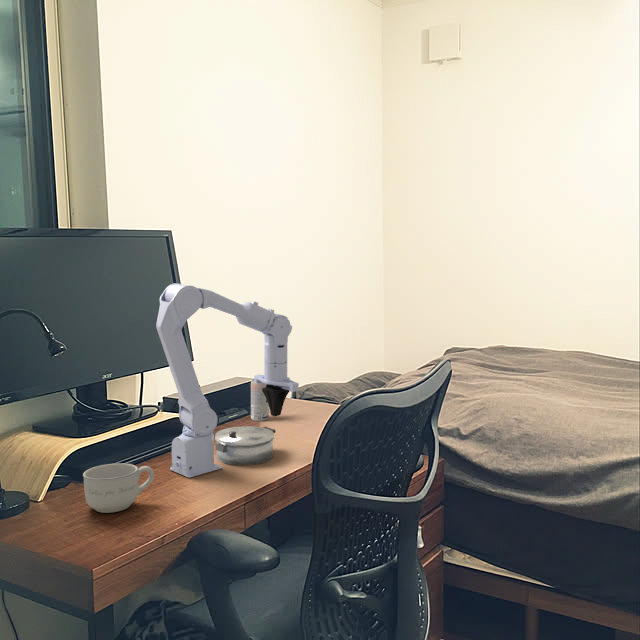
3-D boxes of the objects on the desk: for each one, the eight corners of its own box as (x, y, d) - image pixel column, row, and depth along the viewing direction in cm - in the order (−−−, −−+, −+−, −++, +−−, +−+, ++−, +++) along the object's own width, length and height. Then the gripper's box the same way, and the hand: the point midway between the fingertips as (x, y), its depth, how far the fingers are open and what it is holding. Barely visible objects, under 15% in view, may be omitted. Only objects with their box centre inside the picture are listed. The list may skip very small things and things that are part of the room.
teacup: (82, 520, 135) (81, 480, 134) (85, 500, 145) (83, 463, 144) (156, 513, 139) (155, 474, 138) (153, 494, 149) (152, 457, 148)
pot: (237, 470, 165) (237, 451, 164) (202, 456, 175) (202, 439, 174) (284, 456, 175) (284, 439, 175) (248, 444, 185) (248, 428, 184)
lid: (240, 450, 164) (239, 441, 164) (203, 437, 175) (203, 429, 174) (289, 437, 175) (289, 428, 175) (252, 426, 186) (252, 418, 185)
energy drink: (270, 417, 213) (270, 378, 212) (267, 421, 208) (266, 382, 207) (252, 416, 214) (252, 378, 212) (249, 421, 209) (249, 381, 207)
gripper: (307, 363, 171) (307, 417, 172) (268, 356, 181) (269, 407, 183) (286, 367, 166) (286, 423, 167) (247, 359, 176) (248, 412, 178)
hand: (275, 415), depth 175 cm, fingers closed
